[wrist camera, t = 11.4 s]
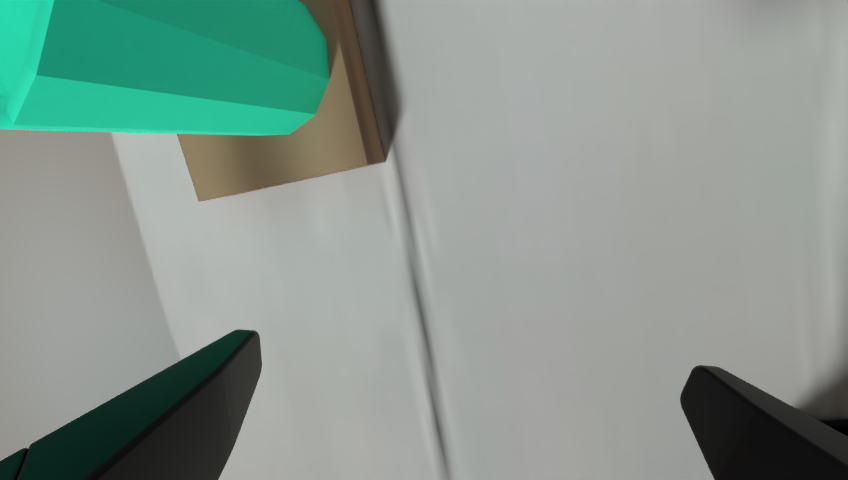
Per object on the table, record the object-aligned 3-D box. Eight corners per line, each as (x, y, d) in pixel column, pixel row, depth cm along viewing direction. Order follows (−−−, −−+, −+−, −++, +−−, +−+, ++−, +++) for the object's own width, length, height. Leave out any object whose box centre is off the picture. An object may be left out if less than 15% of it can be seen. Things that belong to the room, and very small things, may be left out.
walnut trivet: (340, -39, 18) (313, -67, 15) (385, 161, 19) (367, 164, 17) (179, 20, 20) (134, 3, 17) (233, 195, 22) (198, 201, 19)
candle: (184, 19, 17) (-461, -221, 6) (301, -39, 16) (-273, -532, 4) (235, 154, 18) (-228, 174, 7) (349, 112, 17) (-6, 48, 5)
